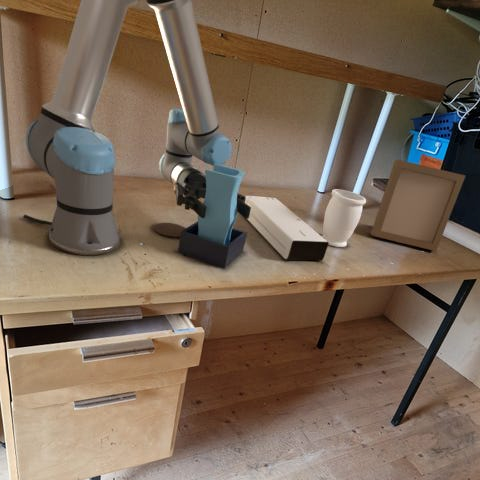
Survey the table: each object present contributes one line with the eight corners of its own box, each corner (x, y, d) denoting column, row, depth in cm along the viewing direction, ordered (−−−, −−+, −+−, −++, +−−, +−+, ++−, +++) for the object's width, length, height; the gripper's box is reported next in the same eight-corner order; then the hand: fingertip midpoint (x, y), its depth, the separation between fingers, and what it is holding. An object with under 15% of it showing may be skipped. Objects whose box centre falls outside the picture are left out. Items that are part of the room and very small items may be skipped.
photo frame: (434, 253, 139) (471, 179, 126) (372, 238, 140) (401, 162, 126) (424, 238, 152) (456, 169, 138) (367, 224, 152) (393, 154, 139)
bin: (178, 252, 101) (180, 231, 98) (200, 237, 112) (203, 217, 109) (224, 268, 99) (228, 247, 96) (242, 252, 109) (247, 232, 106)
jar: (311, 234, 131) (325, 187, 123) (338, 235, 135) (353, 190, 127) (327, 248, 123) (344, 199, 115) (355, 249, 127) (373, 202, 119)
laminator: (322, 262, 113) (329, 242, 110) (283, 262, 109) (289, 240, 105) (271, 215, 139) (276, 197, 135) (238, 213, 134) (242, 194, 130)
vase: (201, 240, 108) (214, 163, 98) (230, 248, 108) (246, 171, 97) (192, 251, 102) (204, 169, 91) (222, 260, 101) (238, 178, 90)
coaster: (147, 230, 108) (147, 229, 108) (164, 221, 116) (164, 220, 116) (177, 241, 107) (178, 239, 106) (193, 231, 114) (193, 230, 114)
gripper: (226, 196, 119) (265, 227, 104) (146, 194, 107) (178, 228, 92) (230, 170, 115) (272, 198, 100) (149, 164, 103) (182, 195, 88)
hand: (227, 212), depth 96 cm, fingers closed on vase, 11 cm apart
